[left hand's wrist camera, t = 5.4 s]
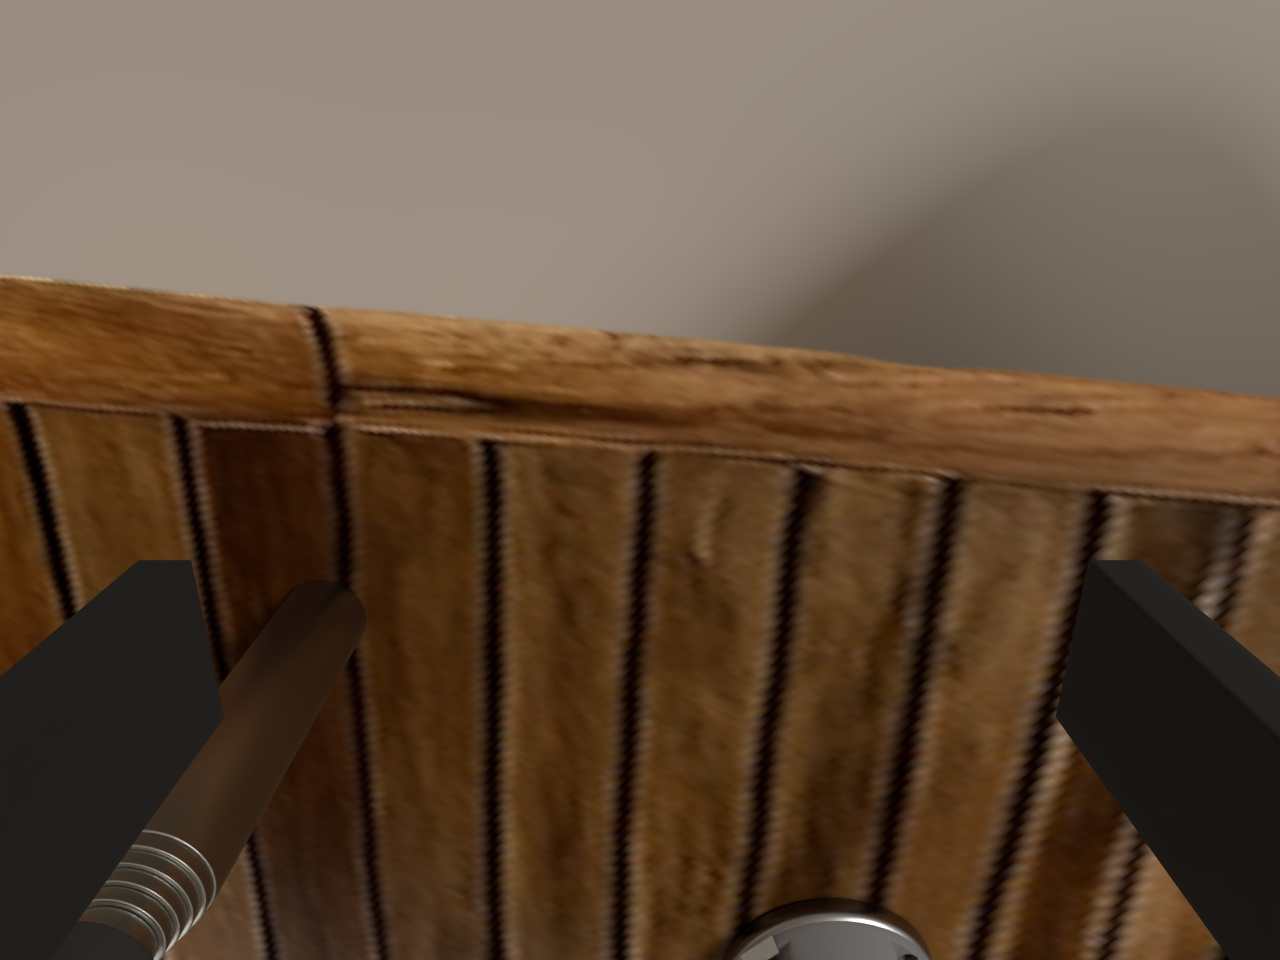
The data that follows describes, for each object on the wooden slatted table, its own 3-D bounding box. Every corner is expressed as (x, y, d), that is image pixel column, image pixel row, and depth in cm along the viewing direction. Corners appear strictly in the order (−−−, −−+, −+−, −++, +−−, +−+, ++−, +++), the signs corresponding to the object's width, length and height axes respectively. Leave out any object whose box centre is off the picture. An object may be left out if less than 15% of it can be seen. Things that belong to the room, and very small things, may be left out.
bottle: (347, 571, 50) (90, 952, 27) (378, 639, 52) (162, 1055, 29) (271, 591, 51) (-47, 982, 27) (305, 658, 53) (33, 1081, 29)
